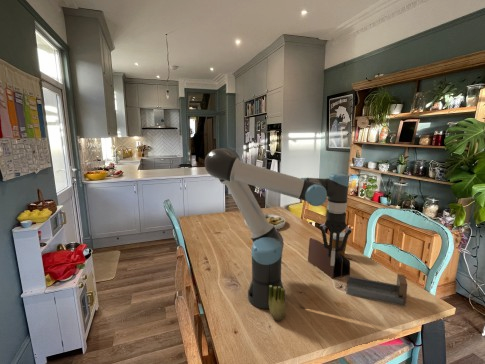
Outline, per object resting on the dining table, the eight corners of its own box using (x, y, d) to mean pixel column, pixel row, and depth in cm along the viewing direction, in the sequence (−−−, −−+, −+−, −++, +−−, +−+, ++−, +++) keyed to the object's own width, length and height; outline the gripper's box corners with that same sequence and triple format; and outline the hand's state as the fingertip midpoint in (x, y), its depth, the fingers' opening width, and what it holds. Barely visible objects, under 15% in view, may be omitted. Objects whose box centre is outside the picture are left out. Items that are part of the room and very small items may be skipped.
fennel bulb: (266, 315, 94) (266, 285, 92) (276, 310, 97) (277, 280, 95) (277, 324, 89) (278, 292, 87) (288, 318, 92) (288, 288, 90)
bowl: (263, 217, 212) (263, 208, 211) (293, 226, 190) (293, 215, 189) (236, 226, 192) (236, 215, 191) (266, 236, 170) (266, 225, 169)
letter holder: (332, 280, 116) (333, 251, 114) (307, 261, 135) (308, 235, 133) (350, 276, 120) (351, 248, 117) (323, 258, 138) (324, 233, 136)
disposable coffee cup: (350, 254, 142) (351, 233, 140) (343, 260, 135) (344, 238, 133) (333, 249, 149) (334, 229, 147) (325, 255, 142) (326, 234, 140)
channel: (406, 307, 97) (408, 286, 96) (346, 295, 105) (347, 275, 104) (401, 293, 106) (403, 273, 105) (346, 282, 114) (348, 264, 113)
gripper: (353, 210, 107) (349, 263, 111) (321, 207, 113) (318, 257, 117) (353, 215, 101) (348, 271, 105) (319, 211, 106) (315, 265, 110)
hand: (332, 264), depth 111 cm, fingers closed
